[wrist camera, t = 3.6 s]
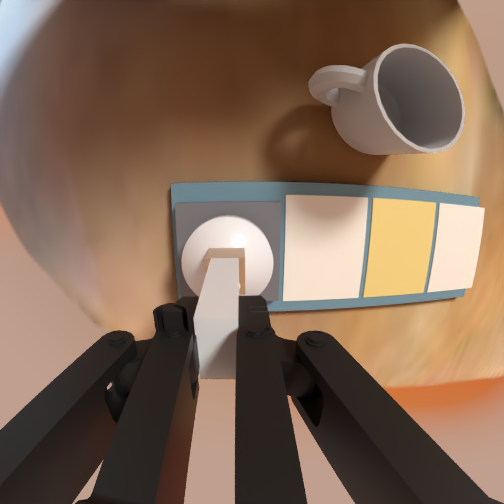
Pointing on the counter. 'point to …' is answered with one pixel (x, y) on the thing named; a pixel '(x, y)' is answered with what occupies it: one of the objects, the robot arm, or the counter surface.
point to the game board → (343, 240)
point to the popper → (229, 252)
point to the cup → (393, 102)
